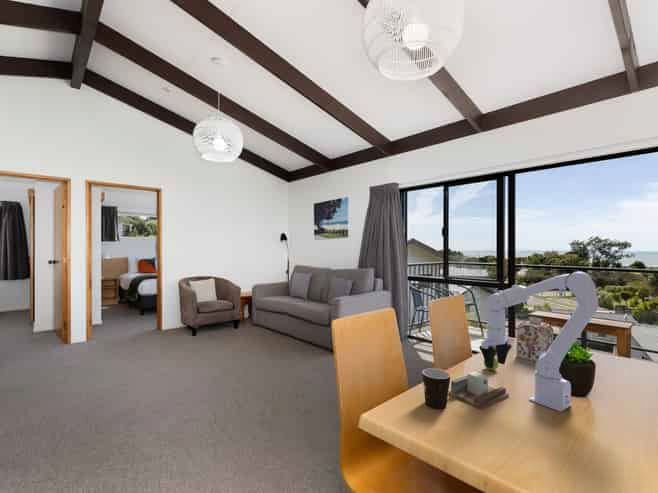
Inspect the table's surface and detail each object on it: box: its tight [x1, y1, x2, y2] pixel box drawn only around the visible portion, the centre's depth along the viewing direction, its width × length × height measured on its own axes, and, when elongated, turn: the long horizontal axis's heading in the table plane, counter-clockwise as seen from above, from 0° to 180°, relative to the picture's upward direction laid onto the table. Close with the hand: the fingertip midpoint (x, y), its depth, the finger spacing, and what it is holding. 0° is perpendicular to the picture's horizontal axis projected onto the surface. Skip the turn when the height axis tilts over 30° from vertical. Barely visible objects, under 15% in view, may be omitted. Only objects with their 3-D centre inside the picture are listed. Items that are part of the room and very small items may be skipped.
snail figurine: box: [483, 346, 499, 371], centre depth 140 cm, size 5×6×12 cm
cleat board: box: [448, 371, 510, 410], centre depth 116 cm, size 12×16×5 cm
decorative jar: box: [515, 317, 554, 363], centre depth 156 cm, size 12×12×18 cm
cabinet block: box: [467, 371, 489, 396], centre depth 116 cm, size 6×4×6 cm
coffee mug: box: [421, 367, 452, 410], centre depth 107 cm, size 12×9×10 cm
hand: (495, 365), depth 121 cm, fingers open, 7 cm apart
